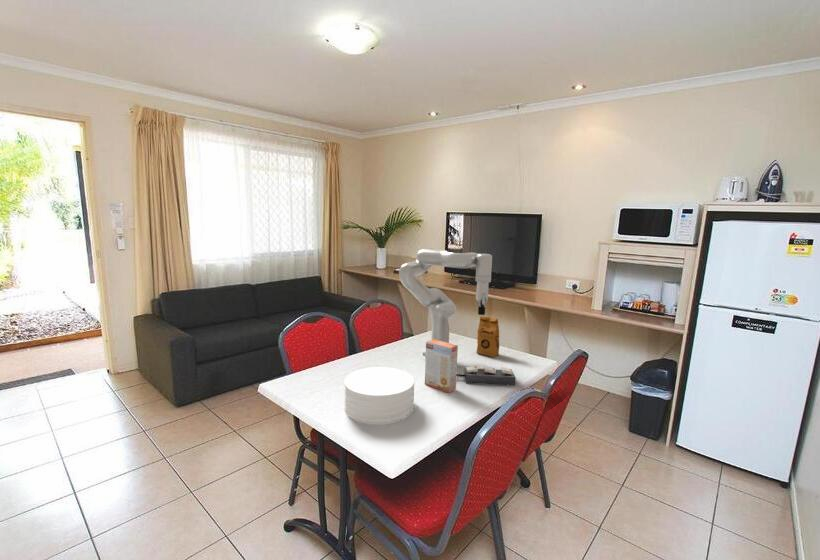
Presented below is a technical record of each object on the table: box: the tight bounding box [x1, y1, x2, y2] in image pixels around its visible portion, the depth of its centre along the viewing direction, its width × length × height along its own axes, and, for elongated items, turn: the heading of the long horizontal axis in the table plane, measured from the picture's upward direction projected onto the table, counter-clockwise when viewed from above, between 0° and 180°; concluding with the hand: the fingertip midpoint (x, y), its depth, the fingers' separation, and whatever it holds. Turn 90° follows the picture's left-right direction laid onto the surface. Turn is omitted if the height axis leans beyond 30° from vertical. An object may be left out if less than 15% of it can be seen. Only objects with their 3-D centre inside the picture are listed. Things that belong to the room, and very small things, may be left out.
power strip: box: [456, 367, 517, 387], centre depth 185 cm, size 29×9×5 cm, turn 86°
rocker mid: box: [483, 365, 497, 374], centre depth 184 cm, size 5×4×1 cm
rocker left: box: [465, 365, 479, 373], centre depth 185 cm, size 5×4×1 cm
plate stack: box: [343, 366, 415, 425], centre depth 156 cm, size 28×28×12 cm
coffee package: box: [476, 315, 500, 358], centre depth 221 cm, size 10×12×22 cm
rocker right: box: [500, 366, 514, 375], centre depth 184 cm, size 5×4×1 cm
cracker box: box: [424, 339, 459, 393], centre depth 175 cm, size 14×6×21 cm, turn 49°
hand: (481, 314), depth 195 cm, fingers closed
